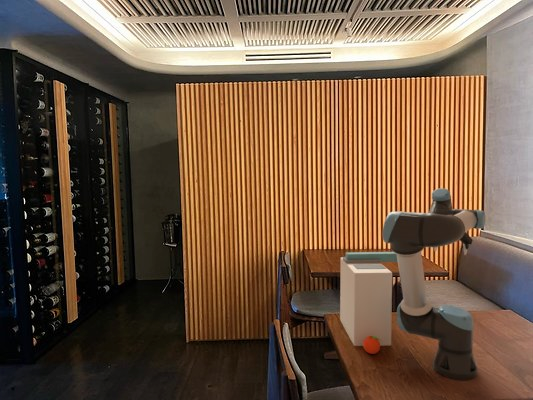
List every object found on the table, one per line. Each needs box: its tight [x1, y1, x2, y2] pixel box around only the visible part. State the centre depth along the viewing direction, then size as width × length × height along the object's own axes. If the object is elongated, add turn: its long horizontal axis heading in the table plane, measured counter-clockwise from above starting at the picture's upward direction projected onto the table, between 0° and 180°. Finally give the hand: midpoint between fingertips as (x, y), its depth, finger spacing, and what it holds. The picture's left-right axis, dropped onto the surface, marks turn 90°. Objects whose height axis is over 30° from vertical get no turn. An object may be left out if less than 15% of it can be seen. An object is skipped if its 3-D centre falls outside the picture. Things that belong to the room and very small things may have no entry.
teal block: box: [345, 251, 398, 263], centre depth 192 cm, size 24×4×4 cm, turn 91°
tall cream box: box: [339, 256, 393, 347], centre depth 188 cm, size 16×30×34 cm, turn 1°
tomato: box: [362, 336, 381, 355], centre depth 167 cm, size 8×7×7 cm
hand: (450, 251), depth 196 cm, fingers open, 13 cm apart
